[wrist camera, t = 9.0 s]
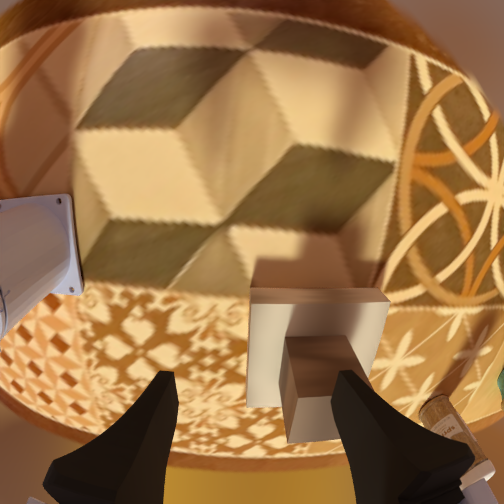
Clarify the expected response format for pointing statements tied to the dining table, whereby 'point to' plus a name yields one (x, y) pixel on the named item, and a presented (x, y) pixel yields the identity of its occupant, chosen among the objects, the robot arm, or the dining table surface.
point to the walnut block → (313, 384)
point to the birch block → (307, 329)
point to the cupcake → (501, 388)
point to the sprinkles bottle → (456, 436)
